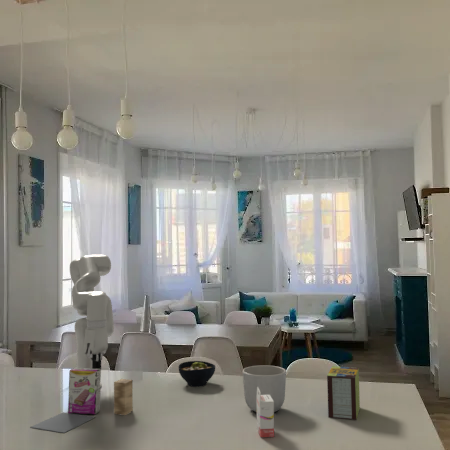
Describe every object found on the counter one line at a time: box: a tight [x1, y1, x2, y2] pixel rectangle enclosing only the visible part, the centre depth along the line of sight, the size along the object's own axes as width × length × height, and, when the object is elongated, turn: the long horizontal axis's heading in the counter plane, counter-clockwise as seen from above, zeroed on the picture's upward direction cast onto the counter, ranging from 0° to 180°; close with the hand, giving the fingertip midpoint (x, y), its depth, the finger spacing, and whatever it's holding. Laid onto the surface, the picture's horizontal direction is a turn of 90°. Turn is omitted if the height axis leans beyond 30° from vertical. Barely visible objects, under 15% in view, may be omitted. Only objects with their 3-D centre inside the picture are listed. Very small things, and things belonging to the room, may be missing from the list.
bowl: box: [178, 360, 216, 388], centre depth 235 cm, size 17×17×10 cm
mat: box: [29, 411, 96, 434], centre depth 185 cm, size 15×17×1 cm
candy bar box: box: [67, 367, 102, 415], centre depth 196 cm, size 11×5×16 cm, turn 84°
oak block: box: [113, 378, 133, 416], centre depth 196 cm, size 5×5×12 cm
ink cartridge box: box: [256, 387, 275, 438], centre depth 172 cm, size 9×5×15 cm, turn 5°
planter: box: [242, 364, 287, 413], centre depth 197 cm, size 17×17×15 cm
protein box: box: [326, 365, 361, 421], centre depth 193 cm, size 10×15×16 cm
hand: (96, 370), depth 204 cm, fingers closed
